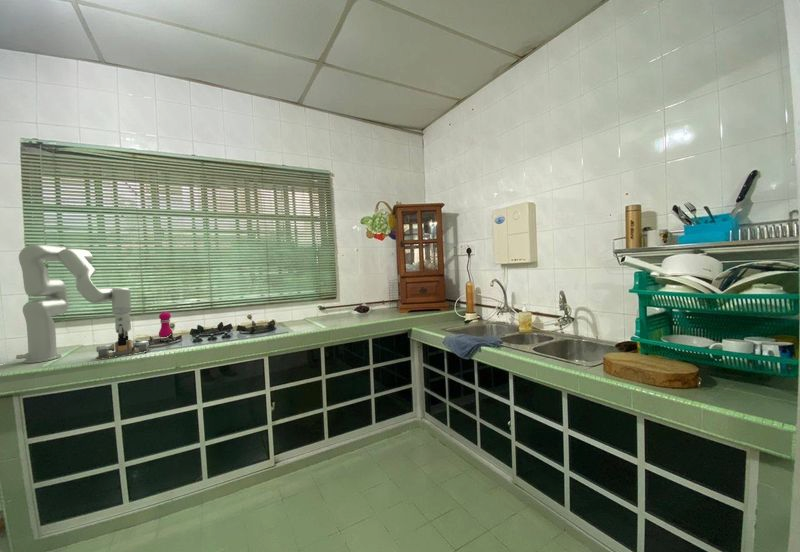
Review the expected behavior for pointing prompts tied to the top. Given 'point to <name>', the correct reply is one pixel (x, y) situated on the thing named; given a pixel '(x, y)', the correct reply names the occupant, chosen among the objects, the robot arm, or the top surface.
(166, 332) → the pepper mill
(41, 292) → the robot arm
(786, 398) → the top surface
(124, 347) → the block
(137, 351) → the shaft bench
